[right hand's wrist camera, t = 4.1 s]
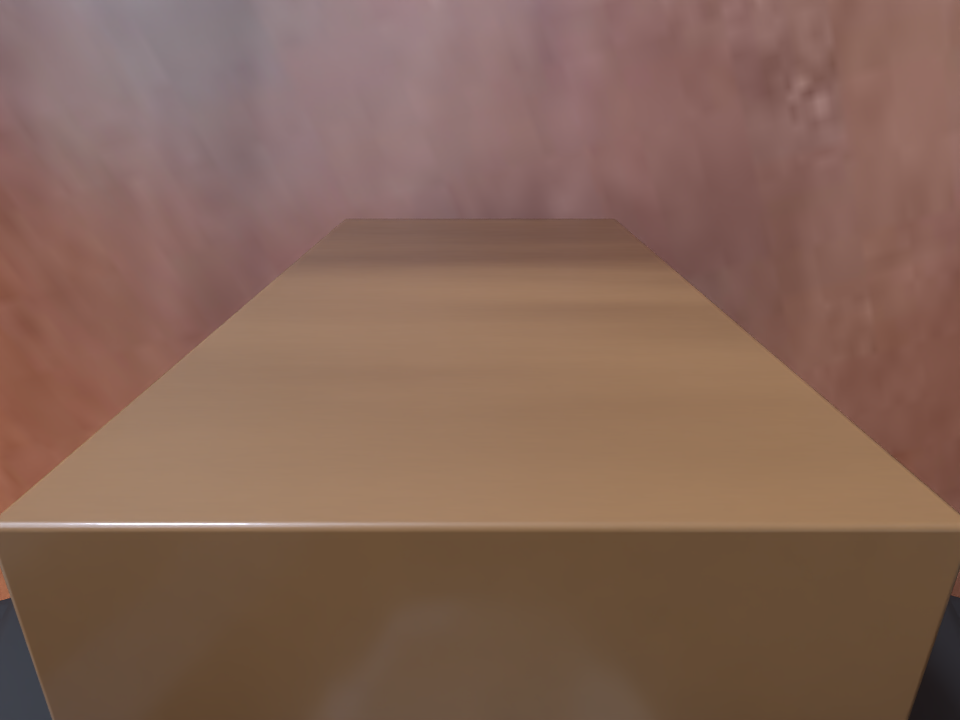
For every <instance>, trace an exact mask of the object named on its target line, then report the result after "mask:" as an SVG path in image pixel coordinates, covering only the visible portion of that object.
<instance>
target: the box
mask: <svg viewBox="0 0 960 720" xmlns="http://www.w3.org/2000/svg"><path fill="white" fill-rule="evenodd" d="M0 567H1V570H2V573H3V576H4V579H5V582H6V585H7V588H8V591H9V594H10V597H11V600H12V602H13V605H14V608H15V611H16V614H17V617H18V620H19V623H20V626H21V629H22V632H23V635H24V638H25V641H26V644H27V647H28V650H29V653H30V656H31V658H32V661H33V664H34V667H35V670H36V673H37V676H38V679H39V682H40V685H41V688H42V691H43V694H44V697H45V700H46V703H47V706H48V709H49V711H50V714H51V717H52V720H908V719H909V716H910V713H911V710H912V708H913V705H914V702H915V699H916V696H917V693H918V690H919V687H920V684H921V681H922V678H923V675H924V672H925V669H926V666H927V663H928V660H929V658H930V655H931V652H932V649H933V646H934V643H935V640H936V637H937V634H938V631H939V628H940V625H941V622H942V619H943V616H944V613H945V610H946V607H947V605H948V602H949V599H950V596H951V593H952V590H953V587H954V584H955V581H956V578H957V575H958V572H959V569H960V514H959V513H958V512H957V511H956V510H955V509H954V508H952V507H951V506H950V505H949V504H948V503H947V502H945V501H944V500H943V499H942V498H941V497H940V496H938V495H937V494H936V493H935V492H934V491H933V490H931V489H930V488H929V487H928V486H927V485H925V484H924V483H923V482H922V481H921V480H920V479H918V478H917V477H916V476H915V475H914V474H913V473H911V472H910V471H909V470H908V469H907V468H906V467H904V466H903V465H902V464H901V463H900V462H899V461H897V460H896V459H895V458H894V457H893V456H892V455H890V454H889V453H888V452H887V451H886V450H885V449H883V448H882V447H881V446H880V445H879V444H877V443H876V442H875V441H874V440H873V439H872V438H870V437H869V436H868V435H867V434H866V433H865V432H863V431H862V430H861V429H860V428H859V427H858V426H856V425H855V424H854V423H853V422H852V421H851V420H849V419H848V418H847V417H846V416H845V415H844V414H842V413H841V412H840V411H839V410H838V409H837V408H835V407H834V406H833V405H832V404H831V403H829V402H828V401H827V400H826V399H825V398H824V397H822V396H821V395H820V394H819V393H818V392H817V391H815V390H814V389H813V388H812V387H811V386H810V385H808V384H807V383H806V382H805V381H804V380H803V379H801V378H800V377H799V376H798V375H797V374H796V373H794V372H793V371H792V370H791V369H790V368H789V367H787V366H786V365H785V364H784V363H783V362H781V361H780V360H779V359H778V358H777V357H776V356H774V355H773V354H772V353H771V352H770V351H769V350H767V349H766V348H765V347H764V346H763V345H762V344H760V343H759V342H758V341H757V340H756V339H755V338H753V337H752V336H751V335H750V334H749V333H748V332H746V331H745V330H744V329H743V328H742V327H741V326H739V325H738V324H737V323H736V322H735V321H733V320H732V319H731V318H730V317H729V316H728V315H726V314H725V313H724V312H723V311H722V310H721V309H719V308H718V307H717V306H716V305H715V304H714V303H712V302H711V301H710V300H709V299H708V298H707V297H705V296H704V295H703V294H702V293H701V292H700V291H698V290H697V289H696V288H695V287H694V286H693V285H691V284H690V283H689V282H688V281H687V280H685V279H684V278H683V277H682V276H681V275H680V274H678V273H677V272H676V271H675V270H674V269H673V268H671V267H670V266H669V265H668V264H667V263H666V262H664V261H663V260H662V259H661V258H660V257H659V256H657V255H656V254H655V253H654V252H653V251H652V250H650V249H649V248H648V247H647V246H646V245H645V244H643V243H642V242H641V241H640V240H639V239H637V238H636V237H635V236H634V235H633V234H632V233H630V232H629V231H628V230H627V229H626V228H625V227H623V226H622V225H621V224H620V223H619V222H618V221H616V220H615V219H345V220H344V221H343V222H341V223H340V224H339V225H338V226H337V227H336V228H334V229H333V230H332V231H331V232H330V233H329V234H327V235H326V236H325V237H324V238H323V239H322V240H320V241H319V242H318V243H317V244H316V245H315V246H313V247H312V248H311V249H310V250H309V251H308V252H306V253H305V254H304V255H303V256H302V257H301V258H299V259H298V260H297V261H296V262H295V263H294V264H292V265H291V266H290V267H289V268H288V269H287V270H285V271H284V272H283V273H282V274H281V275H279V276H278V277H277V278H276V279H275V280H274V281H272V282H271V283H270V284H269V285H268V286H267V287H265V288H264V289H263V290H262V291H261V292H260V293H258V294H257V295H256V296H255V297H254V298H253V299H251V300H250V301H249V302H248V303H247V304H246V305H244V306H243V307H242V308H241V309H240V310H239V311H237V312H236V313H235V314H234V315H233V316H232V317H230V318H229V319H228V320H227V321H226V322H225V323H223V324H222V325H221V326H220V327H219V328H218V329H216V330H215V331H214V332H213V333H212V334H211V335H209V336H208V337H207V338H206V339H205V340H204V341H202V342H201V343H200V344H199V345H198V346H197V347H195V348H194V349H193V350H192V351H191V352H190V353H188V354H187V355H186V356H185V357H184V358H182V359H181V360H180V361H179V362H178V363H177V364H175V365H174V366H173V367H172V368H171V369H170V370H168V371H167V372H166V373H165V374H164V375H163V376H161V377H160V378H159V379H158V380H157V381H156V382H154V383H153V384H152V385H151V386H150V387H149V388H147V389H146V390H145V391H144V392H143V393H142V394H140V395H139V396H138V397H137V398H136V399H135V400H133V401H132V402H131V403H130V404H129V405H128V406H126V407H125V408H124V409H123V410H122V411H121V412H119V413H118V414H117V415H116V416H115V417H114V418H112V419H111V420H110V421H109V422H108V423H107V424H105V425H104V426H103V427H102V428H101V429H100V430H98V431H97V432H96V433H95V434H94V435H93V436H91V437H90V438H89V439H88V440H87V441H85V442H84V443H83V444H82V445H81V446H80V447H78V448H77V449H76V450H75V451H74V452H73V453H71V454H70V455H69V456H68V457H67V458H66V459H64V460H63V461H62V462H61V463H60V464H59V465H57V466H56V467H55V468H54V469H53V470H52V471H50V472H49V473H48V474H47V475H46V476H45V477H43V478H42V479H41V480H40V481H39V482H38V483H36V484H35V485H34V486H33V487H32V488H31V489H29V490H28V491H27V492H26V493H25V494H24V495H22V496H21V497H20V498H19V499H18V500H17V501H15V502H14V503H13V504H12V505H11V506H10V507H8V508H7V509H6V510H5V511H4V512H3V513H1V514H0Z"/></svg>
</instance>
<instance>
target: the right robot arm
mask: <svg viewBox="0 0 960 720" xmlns="http://www.w3.org/2000/svg"><path fill="white" fill-rule="evenodd" d="M0 720H52V717H51V714H50V711H49V709H48V706H47V703H46V700H45V697H44V694H43V691H42V688H41V685H40V682H39V679H38V676H37V673H36V670H35V667H34V664H33V661H32V658H31V656H30V653H29V650H28V647H27V644H26V641H25V638H24V635H23V632H22V629H21V626H20V623H19V620H18V617H17V614H16V611H15V608H14V605H13V602H12V600H11V598H9V599H5V600H1V601H0ZM908 720H960V598H959V597H955V596H950V599H949V602H948V605H947V607H946V610H945V613H944V616H943V619H942V622H941V625H940V628H939V631H938V634H937V637H936V640H935V643H934V646H933V649H932V652H931V655H930V658H929V660H928V663H927V666H926V669H925V672H924V675H923V678H922V681H921V684H920V687H919V690H918V693H917V696H916V699H915V702H914V705H913V708H912V710H911V713H910V716H909V719H908Z"/></svg>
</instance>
